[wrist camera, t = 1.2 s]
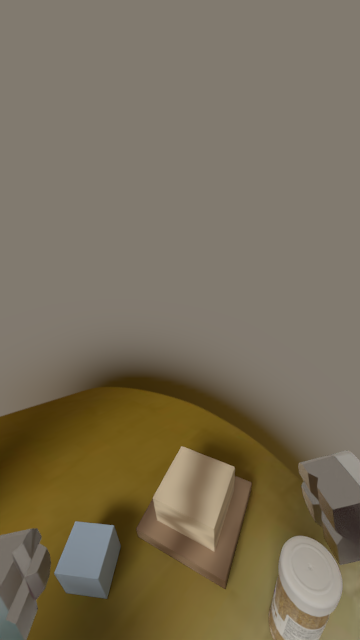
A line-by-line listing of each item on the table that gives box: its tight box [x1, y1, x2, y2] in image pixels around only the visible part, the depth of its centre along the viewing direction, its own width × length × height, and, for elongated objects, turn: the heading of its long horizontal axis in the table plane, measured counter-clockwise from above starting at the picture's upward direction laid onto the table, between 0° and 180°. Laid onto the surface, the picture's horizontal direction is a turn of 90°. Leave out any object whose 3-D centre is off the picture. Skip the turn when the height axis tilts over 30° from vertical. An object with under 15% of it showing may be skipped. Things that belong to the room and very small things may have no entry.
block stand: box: [136, 446, 252, 589], centre depth 36 cm, size 12×12×7 cm
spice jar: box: [269, 536, 342, 640], centre depth 24 cm, size 5×5×13 cm
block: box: [54, 522, 121, 599], centre depth 32 cm, size 5×5×5 cm
